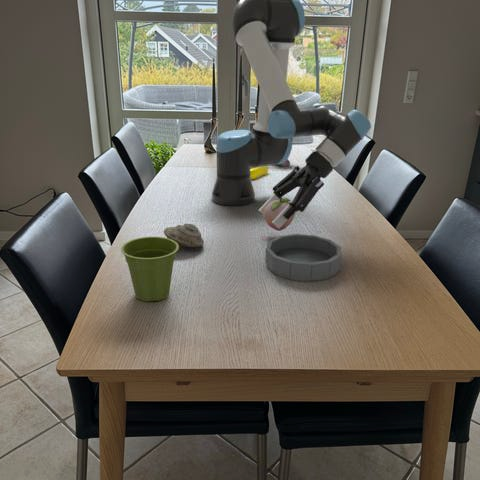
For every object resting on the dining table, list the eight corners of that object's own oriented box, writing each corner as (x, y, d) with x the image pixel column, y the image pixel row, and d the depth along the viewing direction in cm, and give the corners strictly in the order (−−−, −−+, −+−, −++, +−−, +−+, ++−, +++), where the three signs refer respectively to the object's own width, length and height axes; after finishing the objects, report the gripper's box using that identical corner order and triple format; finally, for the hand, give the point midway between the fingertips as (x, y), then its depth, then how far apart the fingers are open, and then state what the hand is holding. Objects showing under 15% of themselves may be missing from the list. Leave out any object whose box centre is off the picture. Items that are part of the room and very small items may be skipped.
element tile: (269, 173, 200) (270, 162, 198) (251, 181, 188) (251, 169, 186) (240, 168, 207) (240, 158, 205) (220, 175, 195) (220, 164, 194)
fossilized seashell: (172, 244, 117) (173, 217, 119) (156, 250, 126) (157, 225, 128) (209, 248, 123) (210, 223, 124) (191, 255, 132) (192, 230, 133)
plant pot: (171, 311, 95) (168, 261, 91) (116, 305, 97) (111, 255, 93) (187, 284, 106) (185, 238, 102) (137, 279, 108) (133, 234, 103)
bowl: (261, 277, 109) (262, 260, 108) (270, 247, 126) (271, 232, 124) (339, 285, 106) (341, 267, 105) (338, 253, 123) (340, 237, 121)
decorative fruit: (271, 222, 138) (272, 190, 134) (297, 227, 135) (299, 194, 131) (257, 233, 131) (259, 199, 127) (284, 239, 127) (287, 204, 123)
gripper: (352, 178, 121) (293, 241, 123) (313, 159, 140) (262, 214, 141) (337, 159, 117) (275, 225, 119) (298, 142, 136) (246, 199, 138)
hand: (268, 219), depth 130 cm, fingers closed on decorative fruit, 9 cm apart
